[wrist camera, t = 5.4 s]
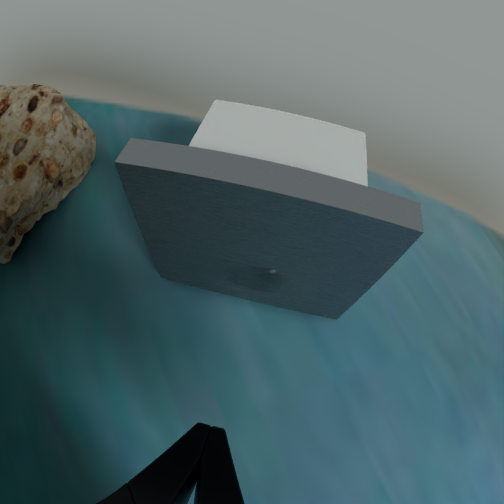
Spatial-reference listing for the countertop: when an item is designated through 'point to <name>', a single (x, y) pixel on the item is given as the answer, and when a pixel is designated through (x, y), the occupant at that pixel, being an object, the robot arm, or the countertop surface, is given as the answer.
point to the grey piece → (263, 226)
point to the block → (284, 140)
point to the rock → (37, 158)
